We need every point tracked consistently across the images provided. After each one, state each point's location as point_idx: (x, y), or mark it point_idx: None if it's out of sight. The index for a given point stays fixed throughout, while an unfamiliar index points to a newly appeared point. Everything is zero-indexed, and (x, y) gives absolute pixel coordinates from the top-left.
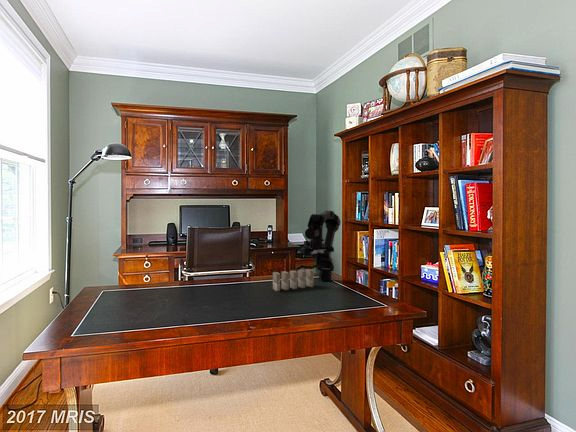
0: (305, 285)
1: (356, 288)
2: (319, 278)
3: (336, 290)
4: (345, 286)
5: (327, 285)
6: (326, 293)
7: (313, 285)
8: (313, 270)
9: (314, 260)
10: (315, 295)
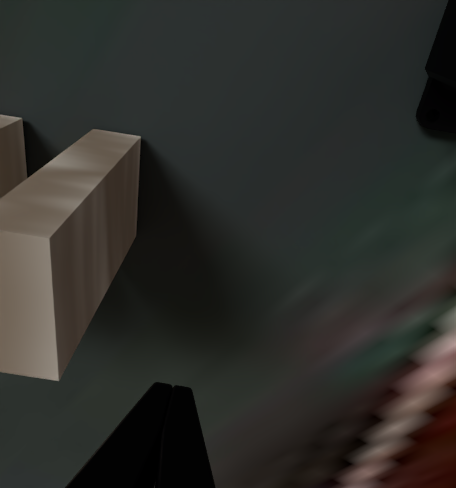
0: None
1: (435, 456)
2: (451, 14)
3: (248, 415)
4: (428, 379)
5: (319, 263)
6: None
7: (130, 243)
8: (55, 378)
9: (73, 485)
10: (10, 417)
